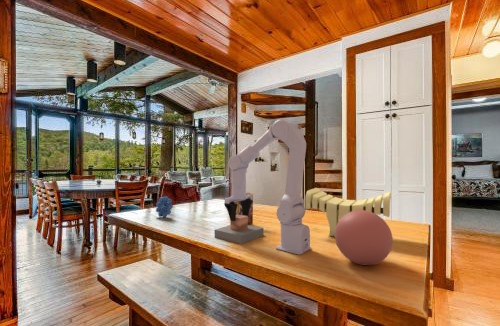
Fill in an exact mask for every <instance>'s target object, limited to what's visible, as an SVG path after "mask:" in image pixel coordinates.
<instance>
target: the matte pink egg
mask: <svg viewBox="0 0 500 326" xmlns="http://www.w3.org/2000/svg"><path fill="white" fill-rule="evenodd" d="M334 239H335V243H336V246H337V248H338V250H339V251H340V253H341V254H342V255H343V256H344V257H345V258H346V259H347V260H349V261H350V262H353V263H355V264H358V265H361V266H374V265H377V264H380V263H381V262H382V261H384V260H385V259H386V258H387V257H388V256H389V254H390V253H391V251H392V248H393V243H394V240H393V233H392V231H391V229H390V227H389V224H387V222H386V221H385V220H384V218H382V217H381V216H380V215H377V214H374V213H372V212H369V211H365V210H356V211H352V212H349V213H347V214H345V215H344V216H343V217H342V218H341V219H340V220H339V222H338V223H337V226H336V229H335V237H334Z"/></svg>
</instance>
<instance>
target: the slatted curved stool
mask: <svg viewBox="0 0 500 326" xmlns="http://www.w3.org/2000/svg"><path fill="white" fill-rule="evenodd" d="M391 195H392V193H391V190H389V191H387V192H386V193H385V194H379V195H378V196H377V197H375V196H374V197H370V198H369V199H368V198H365V199H358V200H356V199H344V198H339V197H338V196H337V197H336V196H333V195H331V194H327V192H325V191H321V189H319V188H317V187H314V188H311V189H308V190H307V191H306V194H305V200H304V208H305V211H306V210H310V209H312V210H319V211H320V212H322V213H323V214H325V213H326V218H327V221H328V226H329V234H328V237H334V238H335V229H336V226H337V223H338V222H339V220H340V219H341V218H342V217H343V216H344V215H345V214H347V213H349V212H352V211H356V210H365V211H369V212H372V213H374V214H376V215H378V216H381V215H383V216H384V217H387V218H390V213H391V210H390V209H391V197H392V196H391Z"/></svg>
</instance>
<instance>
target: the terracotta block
mask: <svg viewBox="0 0 500 326" xmlns="http://www.w3.org/2000/svg"><path fill="white" fill-rule="evenodd" d="M229 225H230V229H233V230H237V231H242V230H245V229H247V228H248V216H244V215H236V220H235V221H230V223H229Z"/></svg>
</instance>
